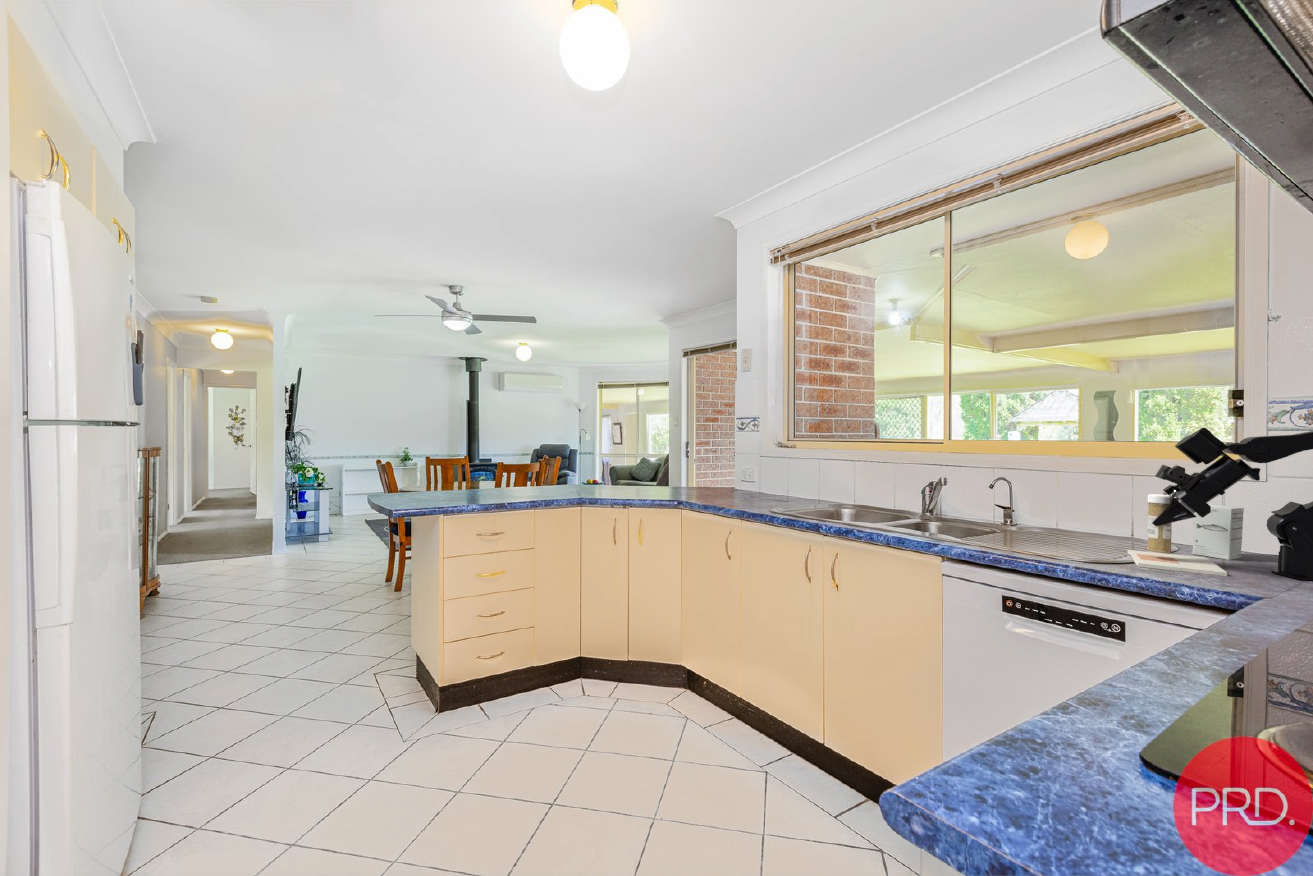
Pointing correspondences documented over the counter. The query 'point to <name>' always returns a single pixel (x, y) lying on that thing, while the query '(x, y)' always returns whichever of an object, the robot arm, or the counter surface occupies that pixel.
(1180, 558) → the mat
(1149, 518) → the sprinkles bottle
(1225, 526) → the supplement box
